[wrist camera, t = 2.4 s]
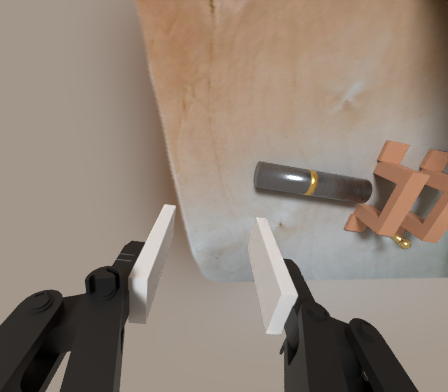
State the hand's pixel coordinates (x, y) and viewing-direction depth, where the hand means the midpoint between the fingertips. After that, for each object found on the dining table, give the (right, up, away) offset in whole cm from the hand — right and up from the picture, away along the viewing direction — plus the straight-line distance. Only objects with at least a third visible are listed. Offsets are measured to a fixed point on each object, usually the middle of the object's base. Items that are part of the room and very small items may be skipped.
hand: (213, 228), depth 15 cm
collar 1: (+24, +3, +18) cm, 30 cm away
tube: (+13, +5, +17) cm, 22 cm away
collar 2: (+31, +2, +19) cm, 36 cm away
